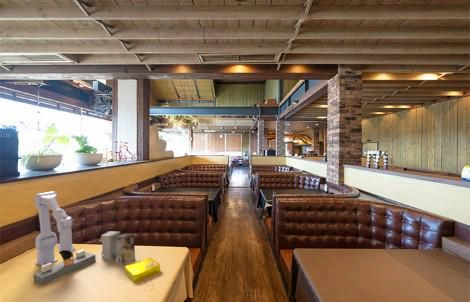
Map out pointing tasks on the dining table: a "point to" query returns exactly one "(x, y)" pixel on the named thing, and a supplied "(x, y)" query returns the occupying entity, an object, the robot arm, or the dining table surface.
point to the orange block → (69, 261)
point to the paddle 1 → (46, 267)
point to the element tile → (142, 269)
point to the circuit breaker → (109, 244)
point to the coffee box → (124, 249)
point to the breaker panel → (63, 269)
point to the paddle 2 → (80, 253)
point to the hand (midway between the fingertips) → (66, 262)
